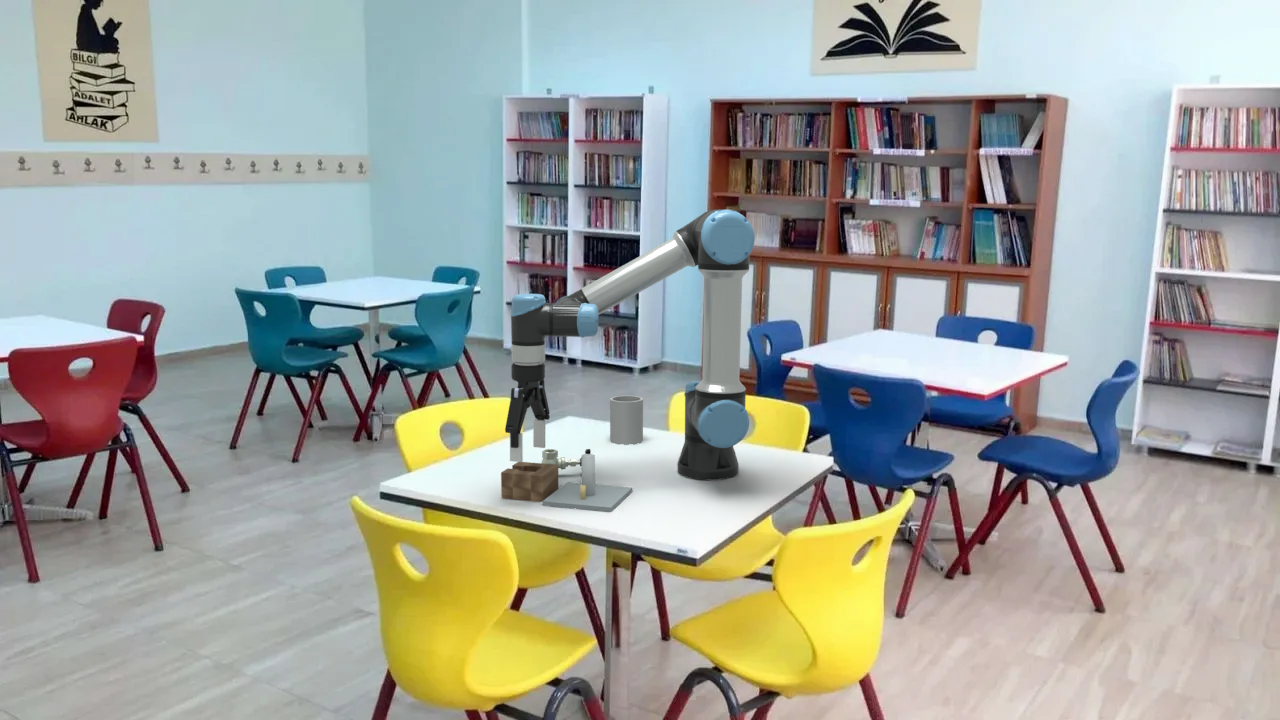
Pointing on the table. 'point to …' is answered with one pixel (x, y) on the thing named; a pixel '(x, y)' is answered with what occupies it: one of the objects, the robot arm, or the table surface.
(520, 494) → the brown u-shaped block
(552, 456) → the valve
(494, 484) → the table surface
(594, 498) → the post board
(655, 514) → the table surface
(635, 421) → the cup
